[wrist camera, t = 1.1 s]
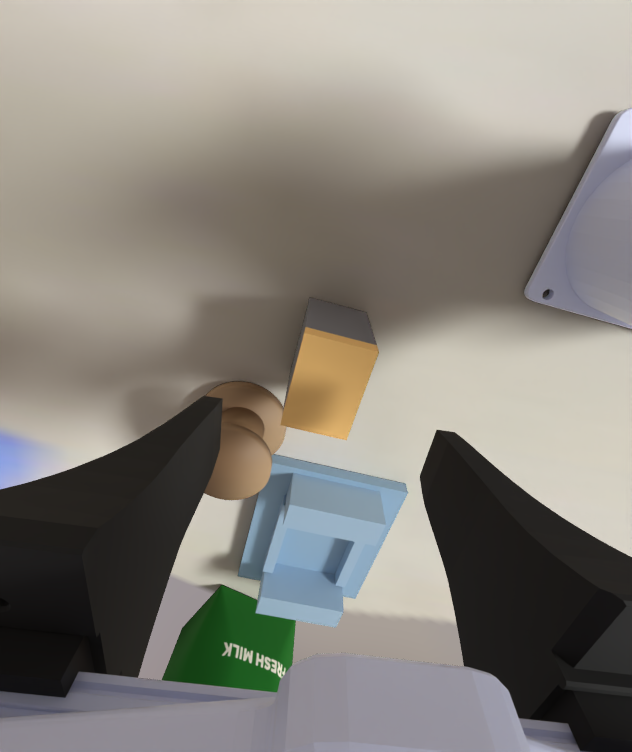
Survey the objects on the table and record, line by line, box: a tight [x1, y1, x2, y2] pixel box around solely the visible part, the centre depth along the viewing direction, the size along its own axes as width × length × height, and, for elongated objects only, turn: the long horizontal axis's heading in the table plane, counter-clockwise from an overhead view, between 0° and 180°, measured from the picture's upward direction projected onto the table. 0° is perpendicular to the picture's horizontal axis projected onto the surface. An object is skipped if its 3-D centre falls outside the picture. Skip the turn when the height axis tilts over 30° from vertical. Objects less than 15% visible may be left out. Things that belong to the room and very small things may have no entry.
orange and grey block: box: [280, 297, 379, 440], centre depth 18 cm, size 3×4×5 cm
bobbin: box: [204, 381, 286, 500], centre depth 21 cm, size 5×5×4 cm
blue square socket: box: [238, 454, 408, 627], centre depth 25 cm, size 9×11×3 cm
